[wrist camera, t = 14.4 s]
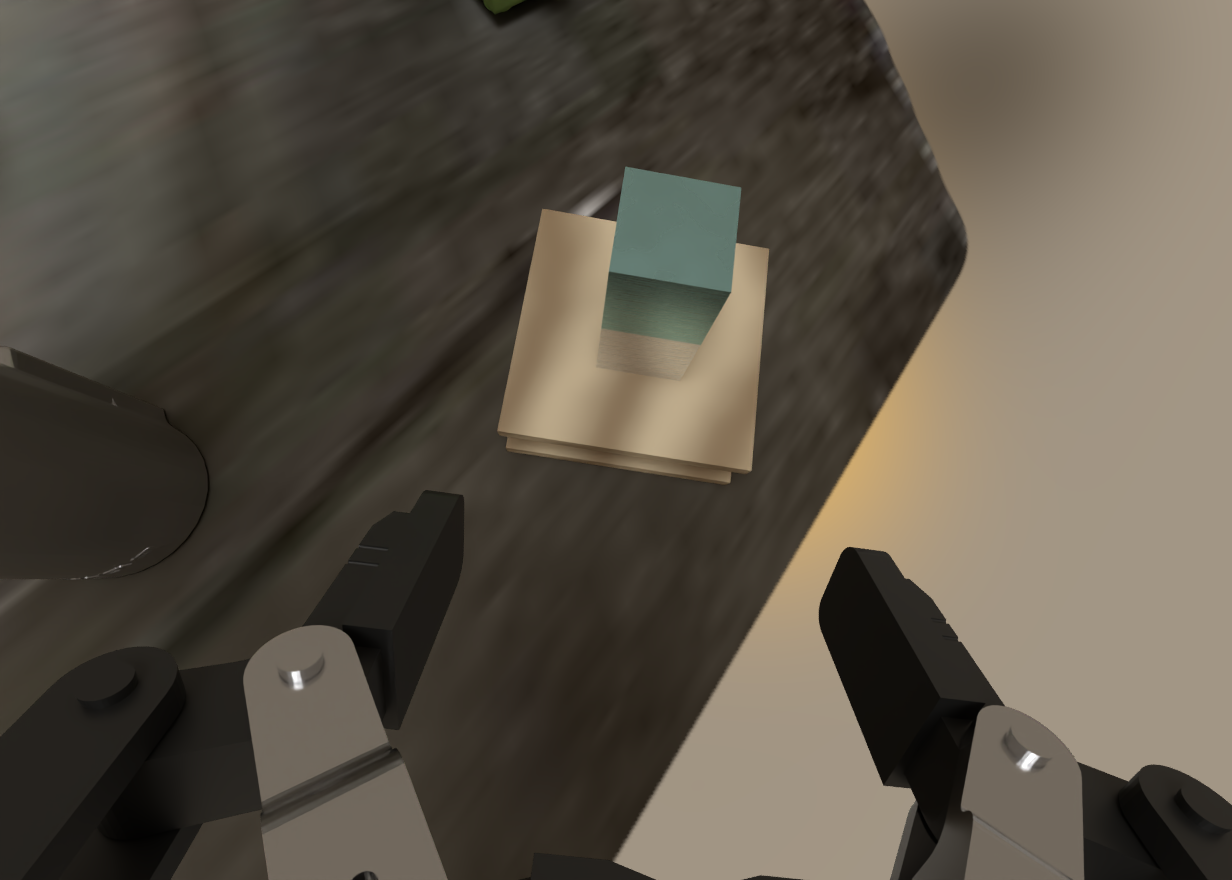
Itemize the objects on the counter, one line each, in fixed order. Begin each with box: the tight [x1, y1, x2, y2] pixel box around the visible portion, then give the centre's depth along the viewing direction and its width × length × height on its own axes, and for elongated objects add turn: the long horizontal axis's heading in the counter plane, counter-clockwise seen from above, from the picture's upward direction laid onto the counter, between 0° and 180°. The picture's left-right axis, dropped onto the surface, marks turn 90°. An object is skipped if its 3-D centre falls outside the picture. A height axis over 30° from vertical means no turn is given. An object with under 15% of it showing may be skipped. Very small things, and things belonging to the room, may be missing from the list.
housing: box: [596, 167, 741, 381], centre depth 26 cm, size 5×5×10 cm
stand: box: [497, 209, 769, 485], centre depth 33 cm, size 14×14×5 cm
